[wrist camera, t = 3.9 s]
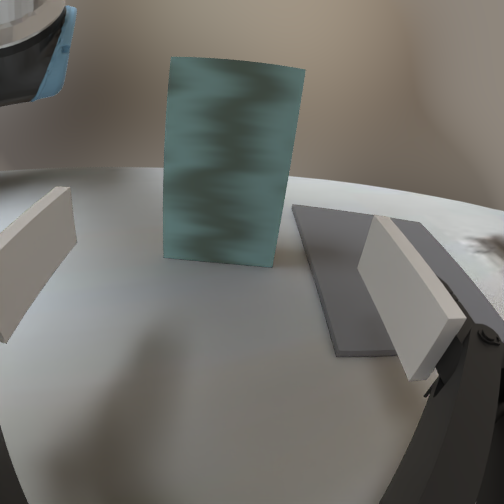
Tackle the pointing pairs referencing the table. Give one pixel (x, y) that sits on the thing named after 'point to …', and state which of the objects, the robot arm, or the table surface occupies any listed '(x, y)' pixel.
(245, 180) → the tile
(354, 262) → the mat
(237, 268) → the table surface
